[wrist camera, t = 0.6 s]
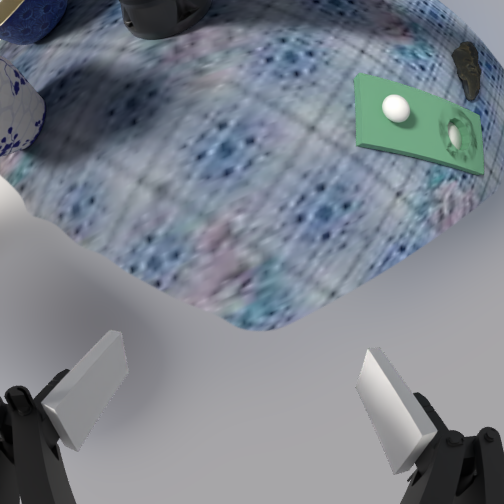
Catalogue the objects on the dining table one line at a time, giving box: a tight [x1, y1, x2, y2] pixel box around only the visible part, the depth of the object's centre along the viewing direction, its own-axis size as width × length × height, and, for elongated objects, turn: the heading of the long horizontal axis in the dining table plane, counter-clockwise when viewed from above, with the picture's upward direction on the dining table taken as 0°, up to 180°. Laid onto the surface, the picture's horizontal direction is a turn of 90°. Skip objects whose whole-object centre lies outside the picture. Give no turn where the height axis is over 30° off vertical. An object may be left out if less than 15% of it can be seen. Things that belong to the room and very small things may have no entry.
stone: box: [452, 42, 481, 101], centre depth 27 cm, size 7×13×5 cm, turn 171°
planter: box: [0, 0, 67, 45], centre depth 21 cm, size 17×17×15 cm
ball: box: [382, 95, 410, 123], centre depth 29 cm, size 4×4×4 cm
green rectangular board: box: [354, 73, 484, 175], centre depth 32 cm, size 25×11×2 cm, turn 87°
